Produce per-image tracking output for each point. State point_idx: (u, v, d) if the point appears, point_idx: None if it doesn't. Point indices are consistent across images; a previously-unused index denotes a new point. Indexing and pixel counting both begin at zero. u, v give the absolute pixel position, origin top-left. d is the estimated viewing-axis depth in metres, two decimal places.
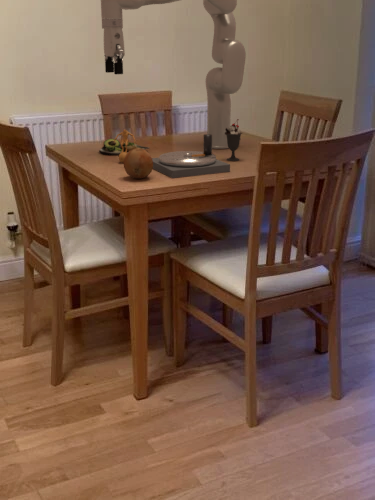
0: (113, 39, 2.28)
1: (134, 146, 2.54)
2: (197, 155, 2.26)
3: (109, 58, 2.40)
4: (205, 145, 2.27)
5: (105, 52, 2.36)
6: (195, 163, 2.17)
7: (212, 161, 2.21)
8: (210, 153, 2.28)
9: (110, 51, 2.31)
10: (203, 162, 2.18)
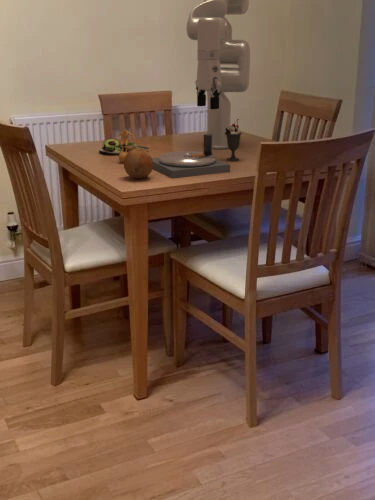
0: (211, 72, 2.14)
1: (134, 146, 2.54)
2: (197, 155, 2.26)
3: (201, 91, 2.26)
4: (205, 145, 2.27)
5: (198, 85, 2.22)
6: (195, 163, 2.17)
7: (212, 161, 2.21)
8: (210, 153, 2.28)
9: (207, 85, 2.17)
10: (203, 162, 2.18)
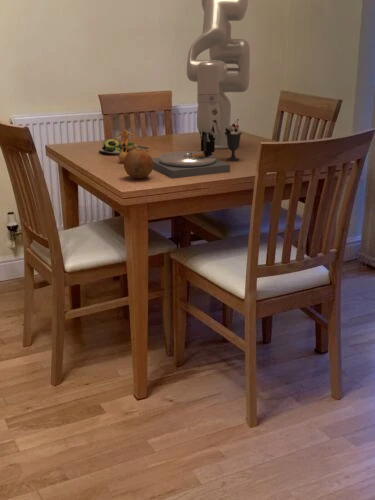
0: (210, 115, 2.19)
1: (134, 146, 2.54)
2: (197, 155, 2.26)
3: None
4: (205, 145, 2.27)
5: (198, 126, 2.27)
6: (195, 163, 2.17)
7: (212, 161, 2.21)
8: (210, 153, 2.28)
9: (206, 127, 2.22)
10: (203, 162, 2.18)
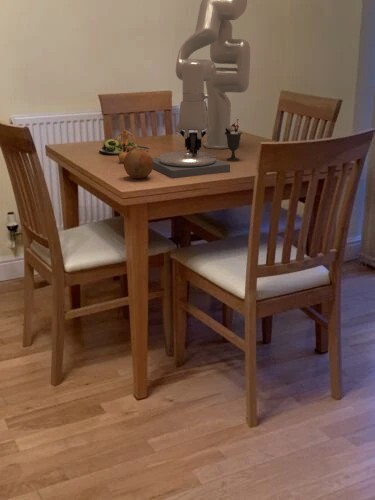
0: (205, 113, 2.26)
1: (134, 146, 2.54)
2: (191, 154, 2.29)
3: None
4: (194, 143, 2.30)
5: (184, 126, 2.28)
6: (213, 160, 2.22)
7: None
8: None
9: (201, 125, 2.27)
10: (215, 158, 2.24)
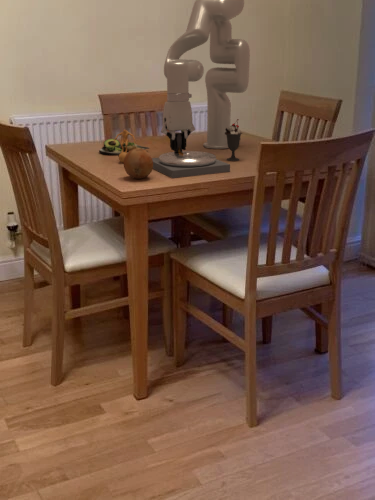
0: (191, 112, 2.28)
1: (134, 146, 2.54)
2: None
3: None
4: (181, 143, 2.30)
5: (173, 126, 2.26)
6: None
7: None
8: None
9: (189, 124, 2.29)
10: None
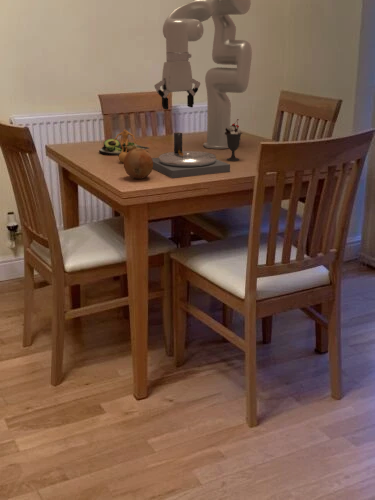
0: None
1: (134, 146, 2.54)
2: None
3: None
4: (181, 143, 2.30)
5: (173, 87, 2.22)
6: None
7: None
8: None
9: (189, 85, 2.24)
10: None
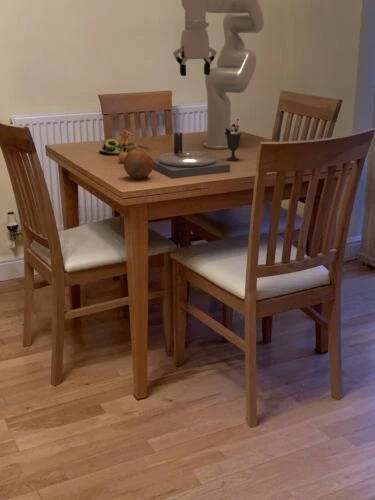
0: None
1: (134, 146, 2.54)
2: None
3: None
4: (181, 143, 2.30)
5: (190, 54, 2.31)
6: None
7: None
8: None
9: (206, 53, 2.34)
10: None
